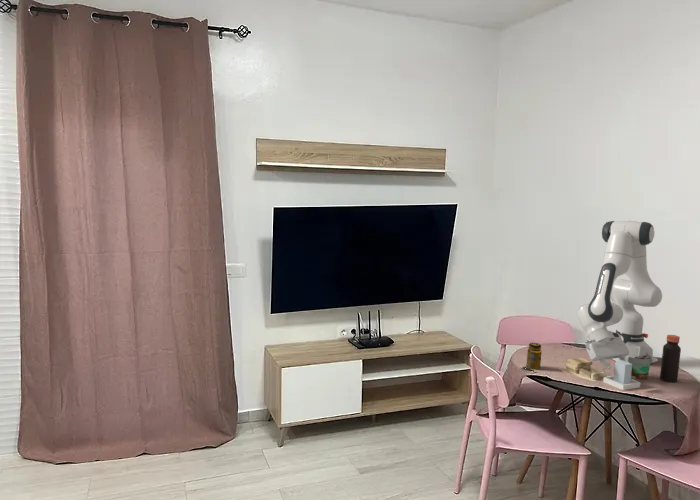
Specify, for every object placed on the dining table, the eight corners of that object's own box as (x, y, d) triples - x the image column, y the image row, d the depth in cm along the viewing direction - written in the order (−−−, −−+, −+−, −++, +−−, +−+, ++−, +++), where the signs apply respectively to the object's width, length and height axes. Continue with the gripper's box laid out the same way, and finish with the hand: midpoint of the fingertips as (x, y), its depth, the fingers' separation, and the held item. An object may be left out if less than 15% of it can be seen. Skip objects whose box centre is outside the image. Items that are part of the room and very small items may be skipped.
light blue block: (619, 382, 248) (622, 360, 247) (629, 386, 243) (632, 363, 242) (613, 383, 246) (615, 361, 245) (623, 387, 242) (625, 364, 240)
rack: (580, 367, 269) (581, 360, 268) (612, 380, 252) (613, 372, 252) (558, 370, 263) (558, 363, 262) (589, 384, 247) (589, 376, 246)
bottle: (679, 381, 255) (685, 336, 252) (672, 383, 251) (677, 339, 248) (664, 376, 260) (668, 333, 258) (656, 379, 256) (661, 335, 254)
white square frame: (619, 381, 251) (620, 374, 251) (639, 389, 242) (640, 382, 242) (603, 384, 247) (603, 377, 247) (622, 392, 238) (623, 385, 238)
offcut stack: (581, 367, 266) (582, 357, 265) (591, 371, 260) (592, 361, 260) (564, 369, 262) (565, 359, 261) (574, 373, 256) (575, 363, 256)
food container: (638, 383, 250) (640, 361, 249) (625, 378, 255) (628, 356, 254) (656, 379, 256) (659, 357, 254) (643, 375, 261) (646, 353, 260)
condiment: (544, 370, 262) (546, 345, 261) (531, 373, 257) (533, 347, 256) (531, 366, 268) (533, 340, 267) (518, 368, 263) (520, 343, 262)
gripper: (587, 337, 248) (604, 366, 240) (621, 333, 256) (638, 361, 249) (578, 344, 252) (594, 373, 245) (612, 340, 261) (628, 368, 253)
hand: (617, 367), depth 247 cm, fingers open, 8 cm apart
